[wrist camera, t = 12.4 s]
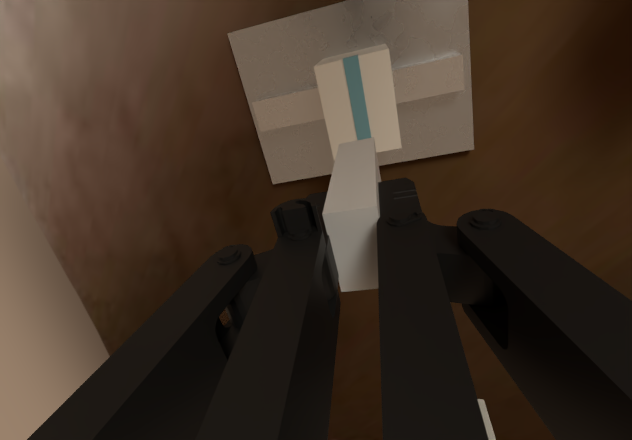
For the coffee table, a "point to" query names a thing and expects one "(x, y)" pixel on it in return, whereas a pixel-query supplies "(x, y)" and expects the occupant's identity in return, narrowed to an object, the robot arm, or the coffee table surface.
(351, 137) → the block
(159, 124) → the coffee table surface
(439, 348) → the robot arm
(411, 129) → the grey flat board
